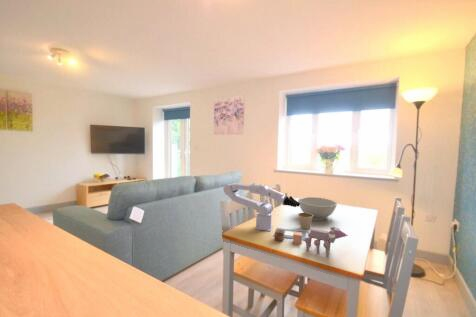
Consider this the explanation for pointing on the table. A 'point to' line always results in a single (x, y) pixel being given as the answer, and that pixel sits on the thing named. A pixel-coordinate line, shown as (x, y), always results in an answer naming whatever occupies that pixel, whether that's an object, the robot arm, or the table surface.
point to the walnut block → (279, 235)
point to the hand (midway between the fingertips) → (298, 205)
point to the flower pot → (305, 220)
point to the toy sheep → (323, 238)
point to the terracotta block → (297, 237)
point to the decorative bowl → (317, 207)
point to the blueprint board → (289, 233)
